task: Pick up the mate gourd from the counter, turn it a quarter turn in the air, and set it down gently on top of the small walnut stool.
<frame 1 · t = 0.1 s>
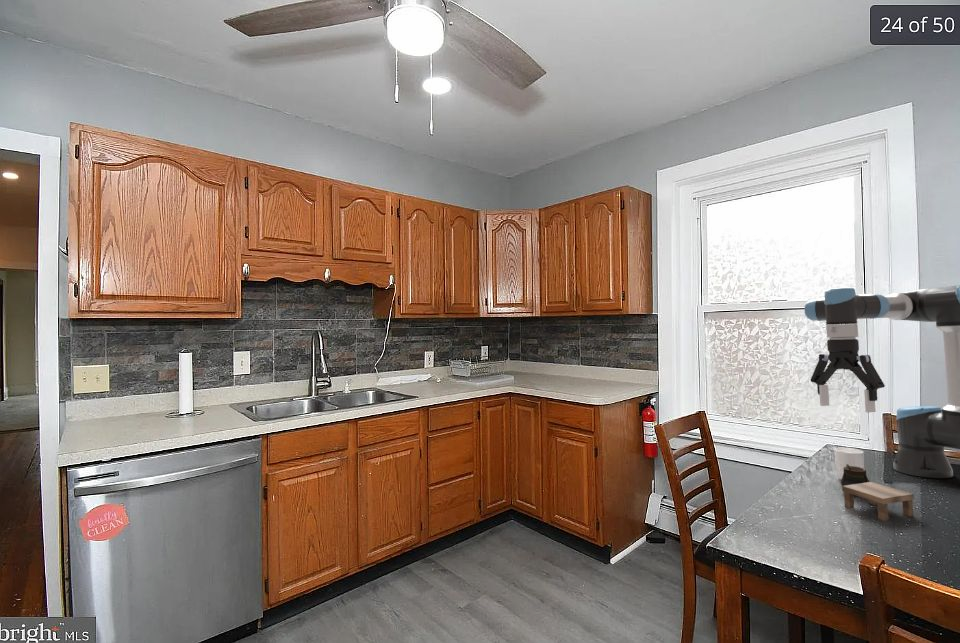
hand: (846, 408, 137), 28 cm above the table, tool pointing down, fingers open, 13 cm apart
white cup: (850, 480, 156), on the table
walnut stool: (878, 511, 129), on the table
mate gourd: (856, 494, 142), on the table
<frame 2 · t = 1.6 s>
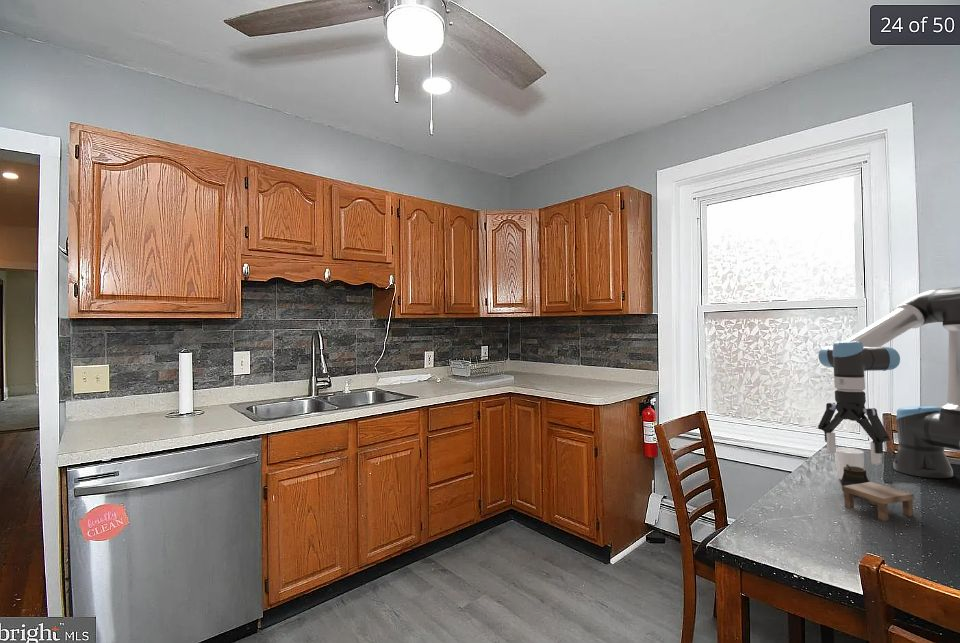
hand: (852, 458, 143), 11 cm above the table, tool pointing down, fingers open, 13 cm apart
nothing on the table moved.
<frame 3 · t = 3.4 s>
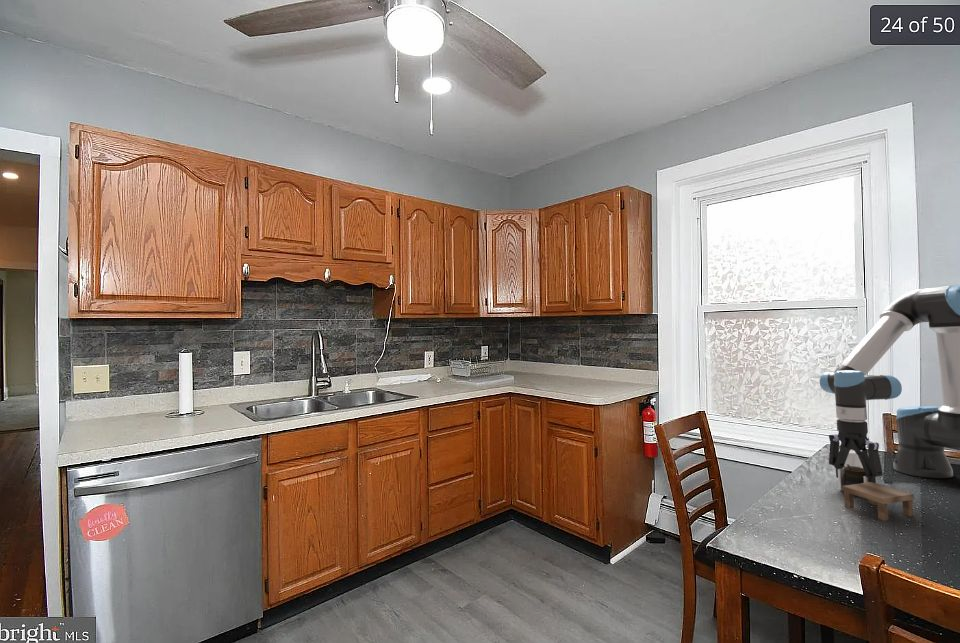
hand: (856, 493, 142), 0 cm above the table, tool pointing down, fingers closed on mate gourd, 7 cm apart
mate gourd: (856, 495, 142), on the table, touching gripper
everything else where it was.
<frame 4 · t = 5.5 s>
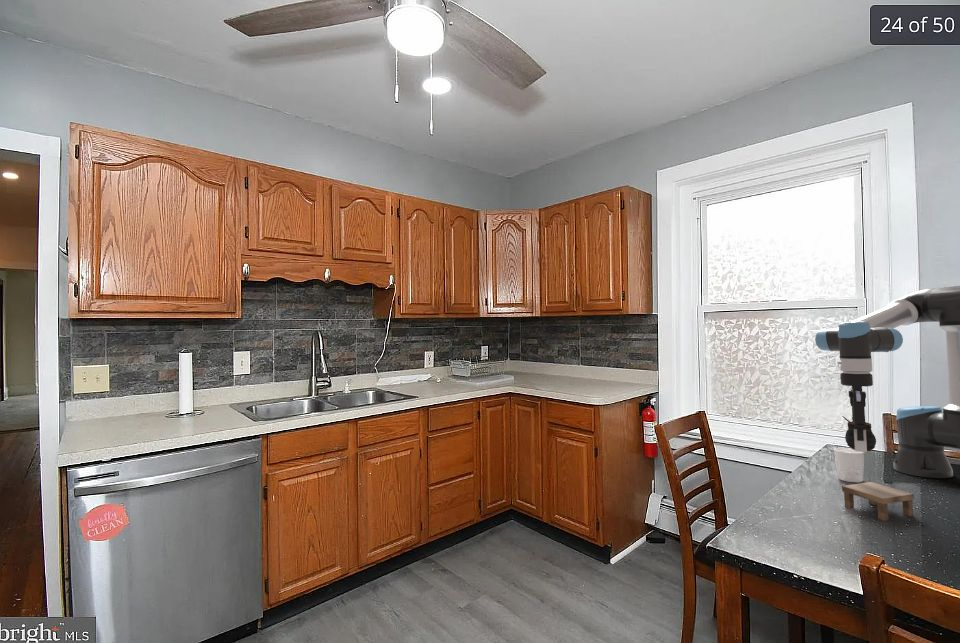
hand: (860, 448, 137), 16 cm above the table, tool pointing down, fingers closed on mate gourd, 7 cm apart
mate gourd: (860, 450, 137), point 15 cm above the table, touching gripper
everything else where it was.
when the fingers open (8 cm above the table, at t = 7.8 s): mate gourd drops 1 cm, resting on walnut stool.
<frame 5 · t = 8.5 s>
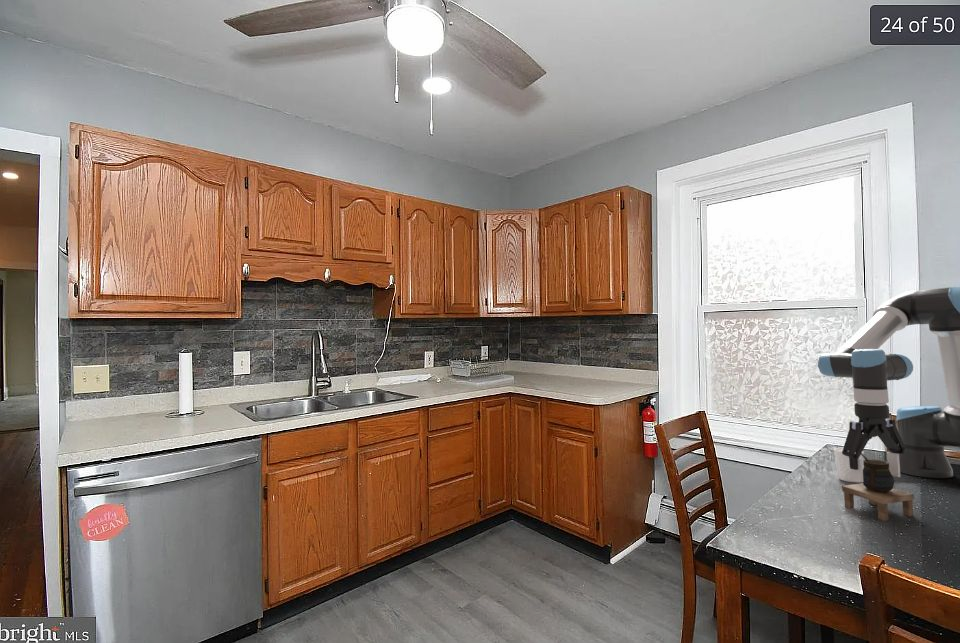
hand: (876, 478, 129), 9 cm above the table, tool pointing down, fingers open, 13 cm apart
mate gourd: (877, 490, 129), point 6 cm above the table, touching walnut stool
everything else where it was.
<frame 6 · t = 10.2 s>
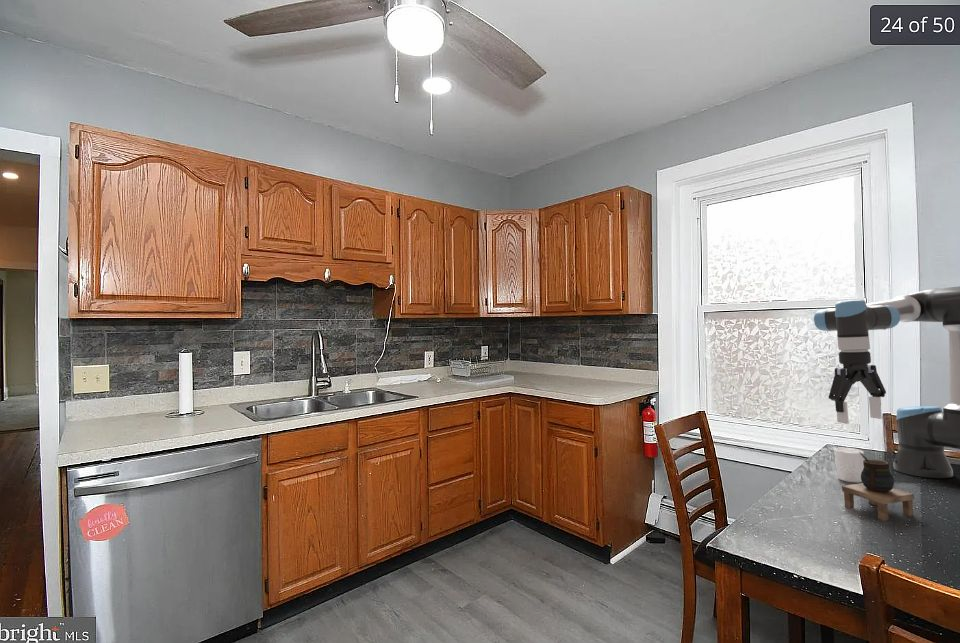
hand: (859, 420, 138), 24 cm above the table, tool pointing down, fingers open, 13 cm apart
nothing on the table moved.
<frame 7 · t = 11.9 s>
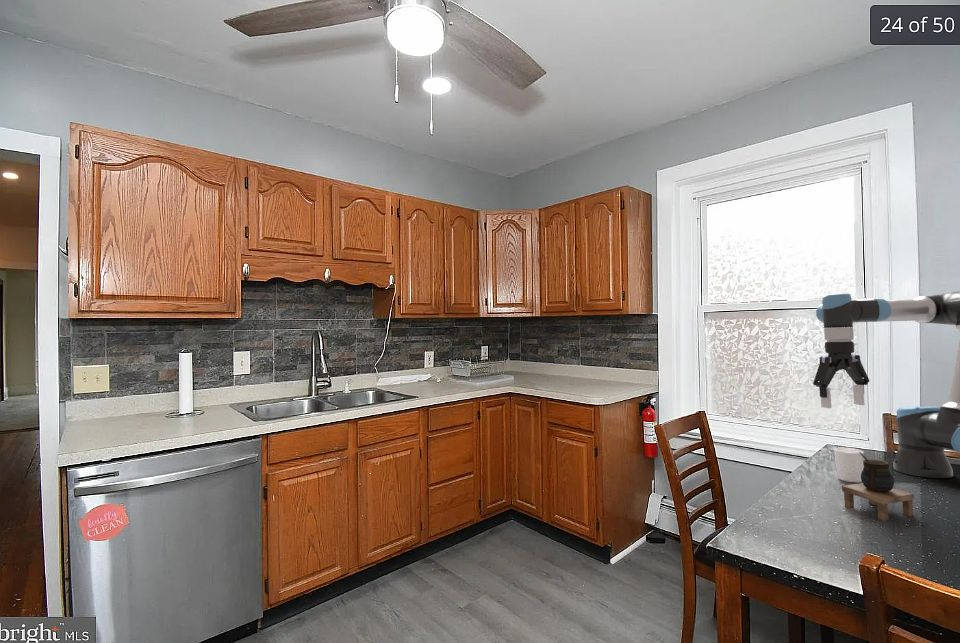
hand: (843, 406, 147), 27 cm above the table, tool pointing down, fingers open, 13 cm apart
nothing on the table moved.
at the end: mate gourd 0.0 cm off-centre on the walnut stool, point 5.8 cm above the walnut stool's base; mate gourd tilted 1°; the gripper is holding nothing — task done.
